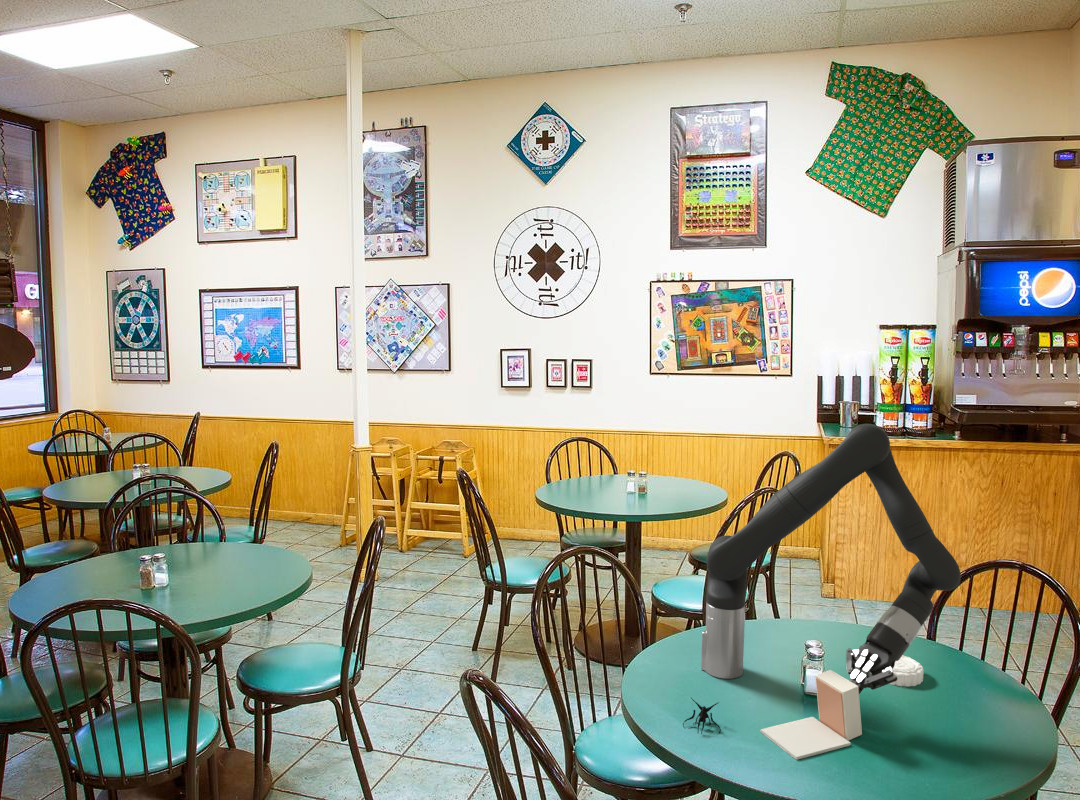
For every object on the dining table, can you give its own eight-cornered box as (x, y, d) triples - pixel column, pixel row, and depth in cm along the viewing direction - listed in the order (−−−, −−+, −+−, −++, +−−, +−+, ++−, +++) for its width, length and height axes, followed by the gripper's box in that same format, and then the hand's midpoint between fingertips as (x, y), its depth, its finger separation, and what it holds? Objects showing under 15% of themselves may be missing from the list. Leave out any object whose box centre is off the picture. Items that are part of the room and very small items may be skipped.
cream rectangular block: (818, 722, 167) (814, 675, 165) (834, 715, 168) (830, 669, 166) (846, 741, 159) (842, 692, 158) (862, 734, 161) (858, 686, 159)
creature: (719, 744, 160) (723, 718, 167) (719, 723, 159) (723, 697, 166) (681, 737, 163) (686, 711, 170) (680, 716, 161) (686, 691, 168)
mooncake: (860, 665, 195) (861, 651, 194) (907, 664, 195) (907, 650, 195) (883, 688, 183) (884, 673, 182) (933, 687, 183) (934, 672, 183)
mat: (760, 732, 163) (760, 729, 163) (812, 719, 168) (812, 716, 168) (796, 759, 153) (796, 757, 153) (850, 745, 158) (850, 742, 158)
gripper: (861, 611, 172) (815, 674, 168) (910, 634, 160) (861, 702, 156) (878, 631, 174) (833, 692, 171) (927, 655, 162) (880, 722, 159)
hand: (847, 697), depth 164 cm, fingers closed
